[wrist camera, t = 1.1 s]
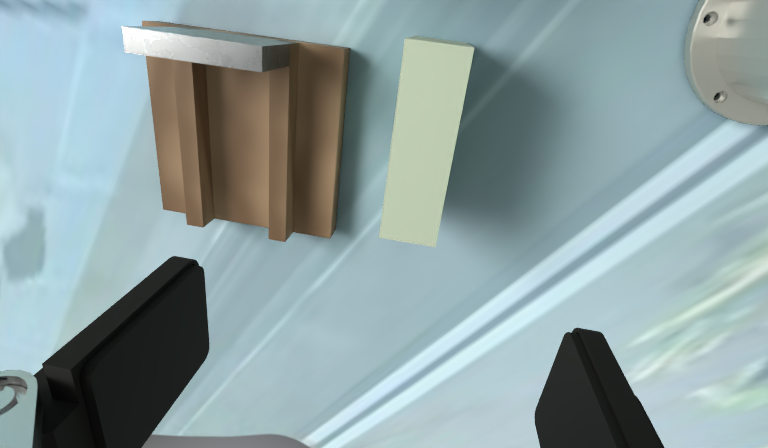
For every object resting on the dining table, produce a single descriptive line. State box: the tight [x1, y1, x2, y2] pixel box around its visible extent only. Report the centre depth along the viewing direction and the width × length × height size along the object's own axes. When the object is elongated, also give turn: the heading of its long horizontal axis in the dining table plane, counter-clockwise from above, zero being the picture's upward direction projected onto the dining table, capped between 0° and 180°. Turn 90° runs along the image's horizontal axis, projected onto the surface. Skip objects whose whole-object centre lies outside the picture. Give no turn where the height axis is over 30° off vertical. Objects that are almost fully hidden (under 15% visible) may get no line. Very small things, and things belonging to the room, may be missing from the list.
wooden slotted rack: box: [142, 21, 350, 242], centre depth 36 cm, size 16×16×4 cm
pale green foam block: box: [379, 36, 474, 247], centre depth 31 cm, size 4×13×9 cm, turn 173°
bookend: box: [122, 26, 297, 72], centre depth 29 cm, size 9×2×7 cm, turn 83°
